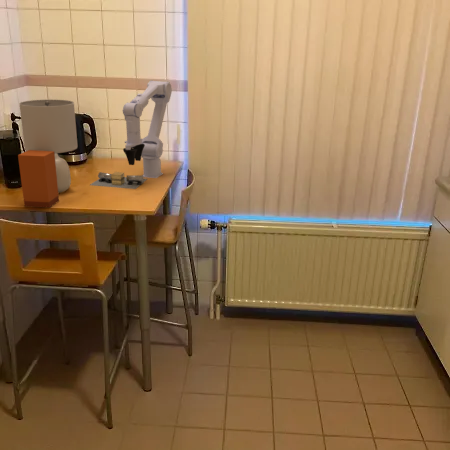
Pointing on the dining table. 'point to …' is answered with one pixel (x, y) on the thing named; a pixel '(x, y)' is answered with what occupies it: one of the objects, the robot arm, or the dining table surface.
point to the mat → (125, 185)
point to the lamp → (50, 132)
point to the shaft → (105, 177)
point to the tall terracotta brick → (38, 178)
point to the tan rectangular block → (118, 178)
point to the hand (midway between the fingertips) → (134, 162)
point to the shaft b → (134, 179)
